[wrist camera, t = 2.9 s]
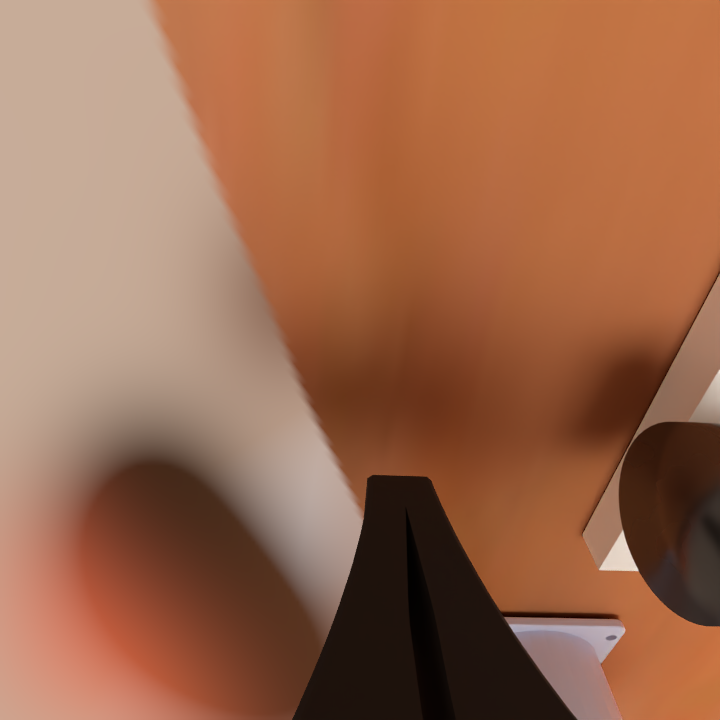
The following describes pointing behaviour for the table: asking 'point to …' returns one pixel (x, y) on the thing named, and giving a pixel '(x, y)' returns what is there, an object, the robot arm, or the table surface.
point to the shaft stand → (671, 404)
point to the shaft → (675, 515)
